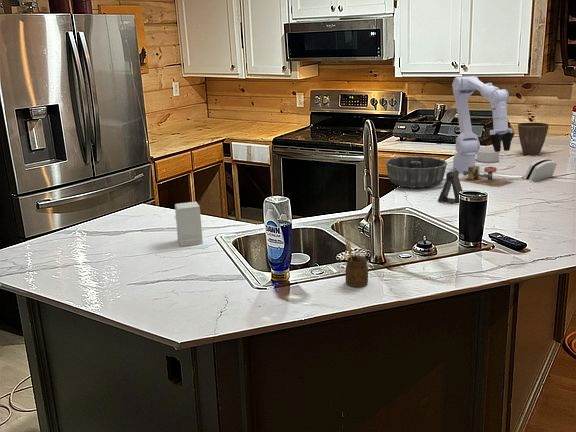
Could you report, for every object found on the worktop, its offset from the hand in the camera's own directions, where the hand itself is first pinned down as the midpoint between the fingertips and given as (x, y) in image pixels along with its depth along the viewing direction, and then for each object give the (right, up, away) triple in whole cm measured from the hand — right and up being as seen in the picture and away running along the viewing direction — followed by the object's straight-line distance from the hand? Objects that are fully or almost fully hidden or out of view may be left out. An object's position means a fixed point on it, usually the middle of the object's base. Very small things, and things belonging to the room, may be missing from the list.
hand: (502, 151), depth 258 cm
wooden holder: (-9, -11, +11) cm, 18 cm away
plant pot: (+37, +5, +64) cm, 74 cm away
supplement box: (-122, -36, -57) cm, 140 cm away
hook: (-7, -11, +9) cm, 15 cm away
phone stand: (-27, -22, -19) cm, 39 cm away
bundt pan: (-34, -14, +10) cm, 38 cm away
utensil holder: (-72, -45, -95) cm, 128 cm away
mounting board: (-5, -13, +7) cm, 16 cm away
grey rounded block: (+20, -11, +12) cm, 26 cm away
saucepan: (+14, +1, +55) cm, 57 cm away
